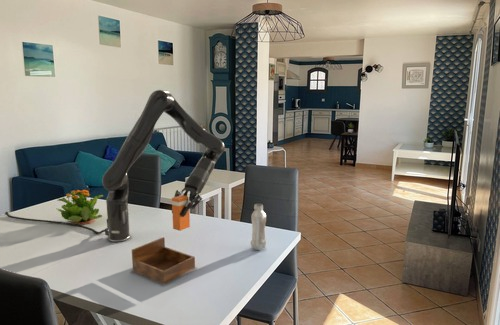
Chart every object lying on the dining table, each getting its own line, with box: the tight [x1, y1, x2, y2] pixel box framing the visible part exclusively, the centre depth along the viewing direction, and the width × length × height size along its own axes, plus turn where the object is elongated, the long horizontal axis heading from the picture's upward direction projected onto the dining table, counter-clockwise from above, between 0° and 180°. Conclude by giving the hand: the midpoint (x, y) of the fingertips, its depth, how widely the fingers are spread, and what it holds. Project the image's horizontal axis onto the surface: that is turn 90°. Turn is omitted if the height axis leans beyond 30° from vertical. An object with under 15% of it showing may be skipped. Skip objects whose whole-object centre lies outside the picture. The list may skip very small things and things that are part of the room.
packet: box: [171, 195, 191, 231], centre depth 153 cm, size 4×6×13 cm
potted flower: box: [56, 189, 104, 226], centre depth 197 cm, size 25×24×18 cm
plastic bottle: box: [250, 203, 267, 251], centre depth 163 cm, size 6×7×20 cm
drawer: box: [131, 236, 196, 285], centre depth 144 cm, size 18×16×9 cm
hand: (177, 214), depth 151 cm, fingers closed on packet, 4 cm apart
